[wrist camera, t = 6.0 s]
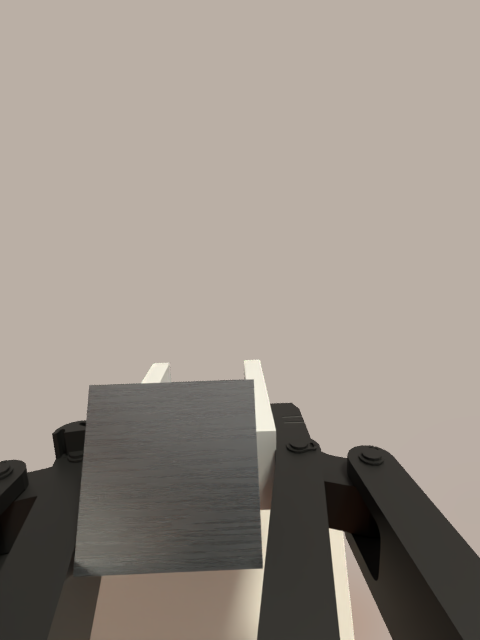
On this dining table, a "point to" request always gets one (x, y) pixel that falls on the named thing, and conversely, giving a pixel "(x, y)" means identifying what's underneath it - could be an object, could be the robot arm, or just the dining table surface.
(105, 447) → the steel block
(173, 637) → the two-step stand
